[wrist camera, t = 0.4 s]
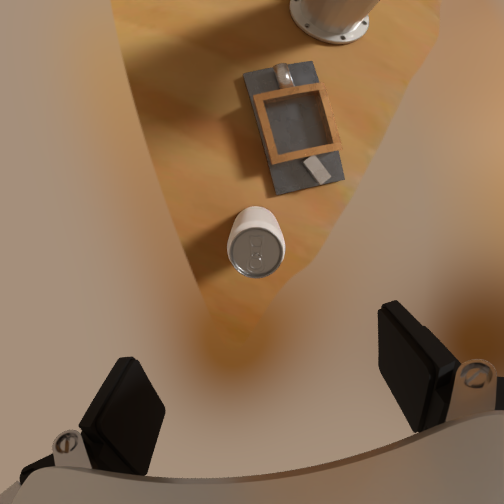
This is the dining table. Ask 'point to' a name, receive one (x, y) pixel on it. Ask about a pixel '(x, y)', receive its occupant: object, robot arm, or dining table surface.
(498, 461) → the robot arm
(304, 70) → the base
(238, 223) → the can
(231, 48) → the dining table surface
